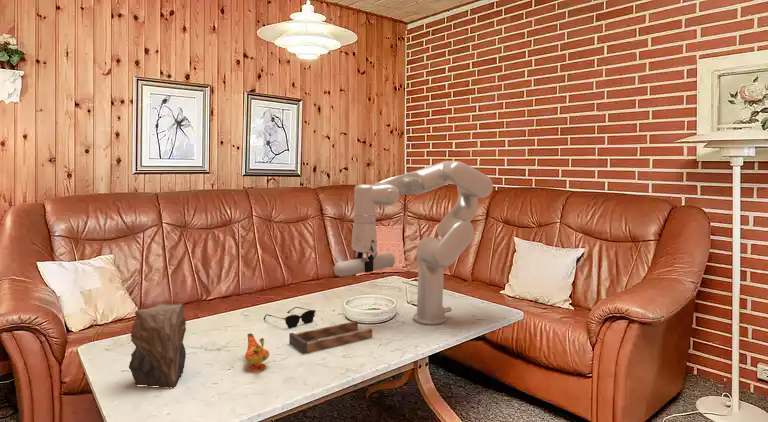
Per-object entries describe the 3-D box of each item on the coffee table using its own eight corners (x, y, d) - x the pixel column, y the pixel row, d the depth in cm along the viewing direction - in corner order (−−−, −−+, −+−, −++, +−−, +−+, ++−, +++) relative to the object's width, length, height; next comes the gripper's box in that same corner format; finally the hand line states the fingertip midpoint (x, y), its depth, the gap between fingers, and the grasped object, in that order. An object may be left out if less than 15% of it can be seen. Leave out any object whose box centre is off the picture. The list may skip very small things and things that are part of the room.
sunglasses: (285, 331, 179) (284, 317, 178) (260, 323, 190) (259, 310, 190) (316, 322, 189) (315, 309, 188) (290, 315, 200) (290, 302, 199)
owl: (127, 386, 134) (124, 313, 132) (152, 367, 147) (150, 299, 144) (174, 389, 133) (171, 315, 131) (195, 369, 146) (193, 301, 144)
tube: (341, 267, 169) (396, 257, 185) (332, 259, 172) (387, 250, 189) (338, 281, 171) (393, 269, 187) (329, 273, 174) (384, 262, 191)
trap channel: (356, 329, 181) (356, 319, 181) (372, 338, 173) (372, 328, 172) (289, 343, 166) (289, 333, 166) (303, 354, 158) (303, 343, 157)
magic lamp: (260, 352, 159) (260, 318, 157) (275, 375, 143) (275, 337, 141) (238, 355, 156) (237, 321, 154) (250, 379, 140) (250, 340, 138)
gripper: (343, 217, 183) (343, 267, 185) (369, 223, 169) (368, 276, 171) (360, 216, 187) (360, 264, 189) (387, 221, 173) (387, 273, 175)
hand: (364, 269), depth 180 cm, fingers closed on tube, 5 cm apart
